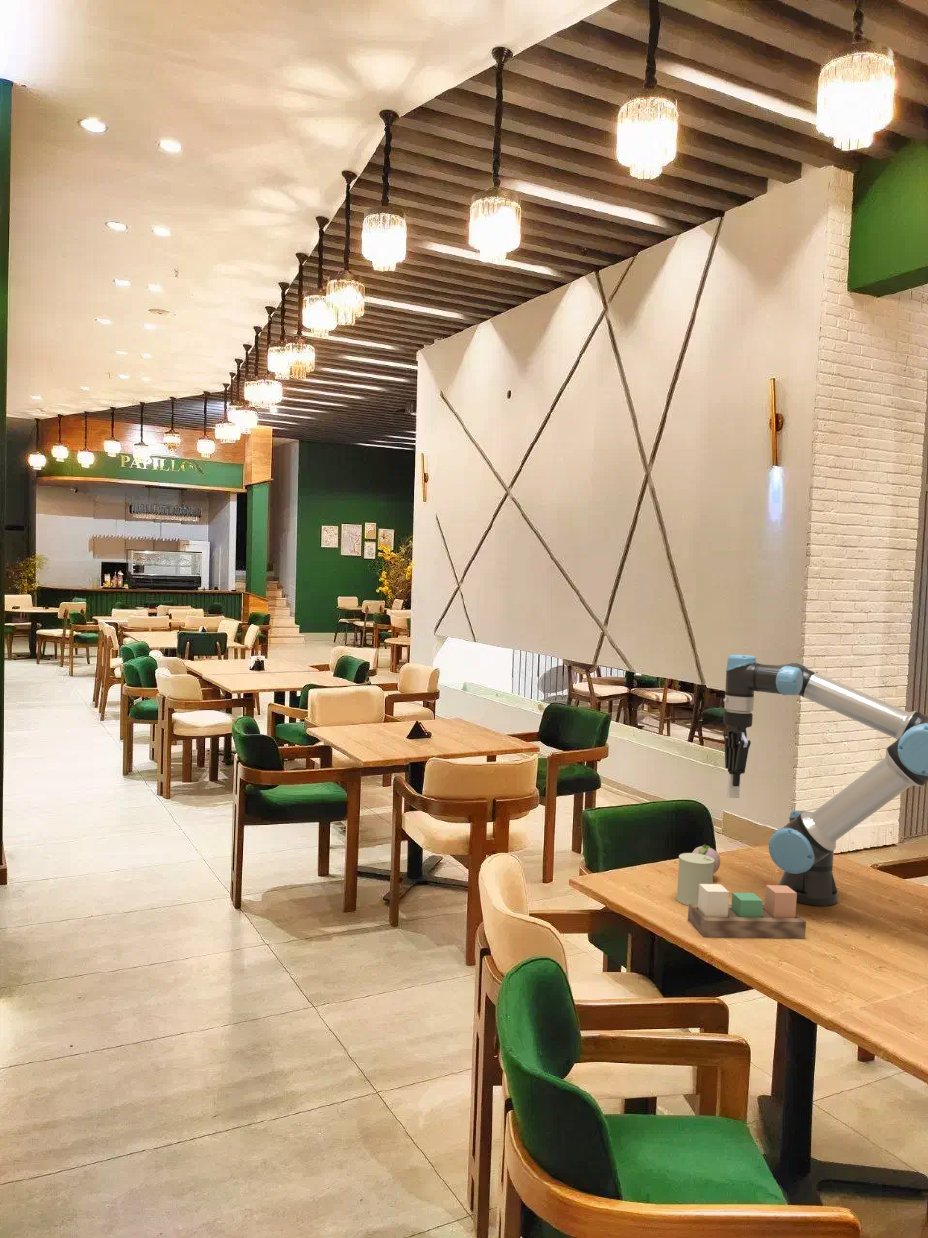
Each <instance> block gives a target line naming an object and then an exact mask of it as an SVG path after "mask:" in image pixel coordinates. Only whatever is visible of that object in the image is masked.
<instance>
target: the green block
mask: <svg viewBox="0 0 928 1238" xmlns="http://www.w3.org/2000/svg"><path fill="white" fill-rule="evenodd" d="M763 902H764V900H762V899H761V898H760V897H759V896H758V895H756V894H755V892H731V903H730V905H731V910H732V911H733V912H734V913H735V914H736V915H737V916H738V917H753V918H762V905H763Z"/></svg>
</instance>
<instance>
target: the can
mask: <svg viewBox="0 0 928 1238" xmlns="http://www.w3.org/2000/svg"><path fill="white" fill-rule="evenodd" d="M713 869H714V859H713V858H711V857H709V856H707V855H703V854H697V853H692V852H683V853H680V854H679V855H678V872H677V873H678V875H677V889H676V890H677V891H676V897H675V898H676V901H677V902H678V903H680V904H682V905H684V904H685V906H688V907H689V904H698V897H699V884H714V883H713V881H714V879H713V878H714V874H713Z"/></svg>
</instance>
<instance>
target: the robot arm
mask: <svg viewBox="0 0 928 1238" xmlns="http://www.w3.org/2000/svg"><path fill="white" fill-rule="evenodd" d="M755 692H758V693H759V692H760V693H766V694H767V693H769V694H776V695H777V694H778V695H782V696H800V697H802V698H805V699H808V700H809V701H811V702H814V703H816V704H818V705H821V706H823V707H825V708H827V709H829V710H831V711H833V712H836V713H839V714H841V715H842V716H845V717H847V718H849V719H851V720H854V721H856V722H858V723H861V724H862V725H865V726H867V727H870V728H871V729H873V730H876V731H877V732H879V733H882V734H885V735H887V736H890V737H891V738H894V739H895V741H894V742H892V744H890V745H889V746H887V747H886V749H885V757H883V758H882V759H881V760H880V761H879V762H877V763H876V764H875V765H874V766H872V767H870V768H869V769H868V770H867V771H865V772H864V773H863V774H861V775H860V776H858V777H857V778H856V779H855V780H854V781H852V782H851V783H850V784H849V785H846V787H844V788H843V789H842V790H840V791H839V792H838V793H837V794H835V795H834V796H832V797H831V798H830V799H829V800H827V801H826V802H825V803H823V804H822V805H821V806H819V808H817V809H815V810H814V811H806V810H792V811H790V815H789V817H788V818H789V819H788V820H789V822H788V823H786V825H784V826H783V827H781V828H778V829H777V830H775V831H774V832H773V834H772V835H771V837H770V839H769V842H768V852H769V856H770V858H771V860H772V862H773V863H774V864H775V865H776V866H777V867H778V868H779V869H780V870H781V871H783V874H782V876H781V878H780V880H779V884H778V885H784V886H788V887H789V888H791V889H792V890H793V891H795V892H796V893H797V900H796V903H798V904H799V903H800V904H804V905H809V906H818V907H819V906H821V907H823V906H825V907H826V906H833V905H835V903H836V904H837V903H838V901H839V893H838V892H839V891H838V888H837V884H836V880H835V877H834V872H833V867H834V855H835V854H834V852H835V850H836V847H837V840H839V839H840V838H841V837H843V836H844V835H846V834H847V833H849V832H850V831H852V830H853V829H854V828H855V827H857V826H858V825H859V824H861V823H862V822H864V821H865V820H866V819H868V818H869V817H871V816H872V815H873V814H874V813H876V812H877V811H878V810H880V809H881V808H883V807H884V806H885V805H886V804H888V803H890V802H891V801H893V800H894V799H895V798H896V797H898V796H899V795H901V794H902V793H903V792H905V791H906V790H908V789H909V788H910V787H912V786H914V787H915V786H916V787H923V786H924V785H926V784H927V783H928V715H927V714H924V713H923V712H922V713H921V712H919V711H917V710H914V711H906V710H905V709H902V708H899V707H897V706H894V705H893V704H890V703H888V702H886V701H884V700H881V699H879V698H876V697H874V696H871V695H869V694H867V693H865V692H862V691H859V690H857V689H855V688H853V687H850V686H848V685H845V684H843V683H841V682H840V681H836V680H834V679H832V678H829V677H828V676H825V675H823V674H820V673H818V672H815V671H813V670H810V669H809V668H808V667H807V666H806V665H804V664H801V663H798V662H790V663H787V664H763V663H758V662H757V657H756V656H755V655H749V654H737V653H736V654H730V655H729V656H728V658H727V664H726V670H725V692H724V694H725V695H724V698H723V700H722V701H723V702H724V711H723V721H722V722H723V725H725V726H728V728H727V732H724V733H723V741H724V764H725V765H724V766H725V769H727V772H728V779H727V781H728V782H727V794H726V795H727V797H728V798H730V799H731V798H732V799H739V798H740V790H741V787H740V786H741V775H742V774H745V772H746V766H747V762H748V761H747V760H748V756H749V755H748V754H749V749H750V746H751V743H752V742H751V740H750V739H749V740H748V739H747V737H748V735H747V733H748V732H747V728H750V727H752V725H753V716H754V714H753V713H752V712H753V711H754V700H755V696H754V695H755Z"/></svg>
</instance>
